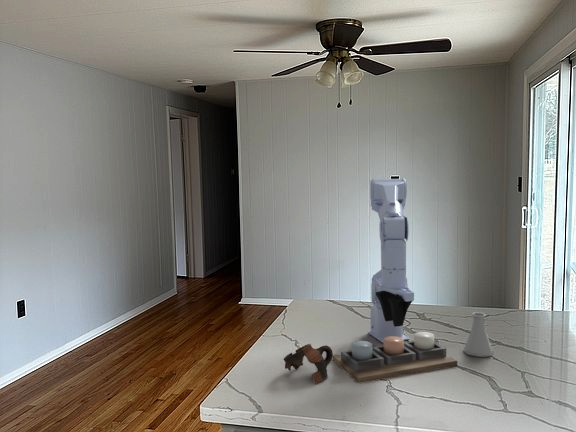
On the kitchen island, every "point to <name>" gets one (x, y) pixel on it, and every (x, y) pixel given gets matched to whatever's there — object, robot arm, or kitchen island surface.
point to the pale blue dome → (361, 350)
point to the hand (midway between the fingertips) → (393, 323)
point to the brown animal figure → (311, 360)
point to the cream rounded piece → (424, 341)
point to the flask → (478, 338)
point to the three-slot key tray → (394, 362)
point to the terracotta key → (393, 345)
